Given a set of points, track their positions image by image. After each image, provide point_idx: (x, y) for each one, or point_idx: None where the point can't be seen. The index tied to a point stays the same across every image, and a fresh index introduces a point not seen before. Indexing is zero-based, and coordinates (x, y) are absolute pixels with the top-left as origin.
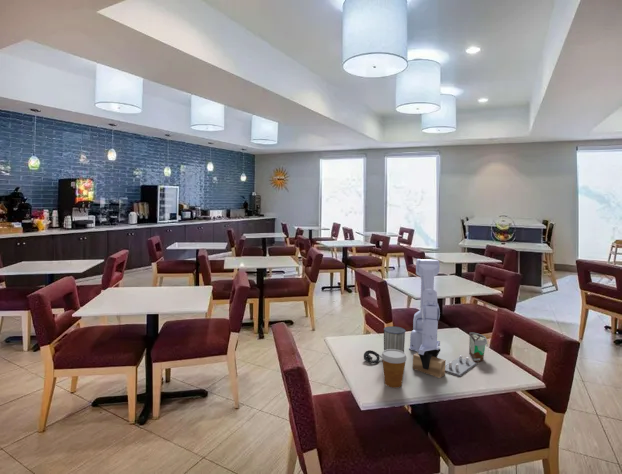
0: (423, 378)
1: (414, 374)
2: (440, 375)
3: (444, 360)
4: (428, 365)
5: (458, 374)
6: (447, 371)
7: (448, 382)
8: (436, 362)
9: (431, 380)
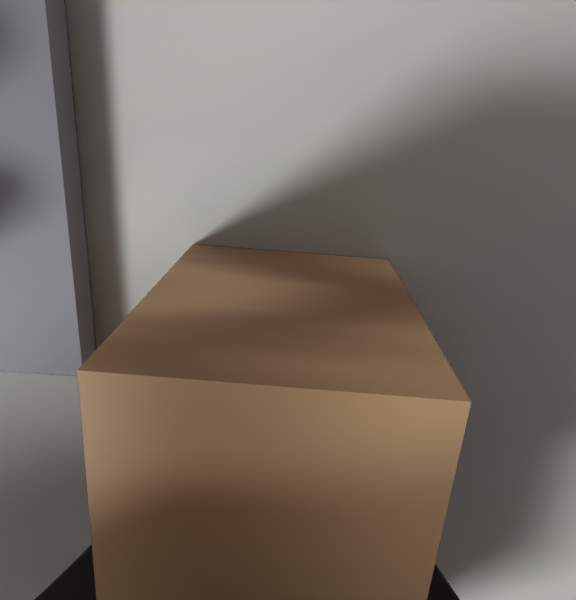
0: (563, 435)
1: (502, 563)
2: (365, 267)
3: (123, 388)
4: None
5: (47, 2)
6: (76, 247)
7: (471, 56)
8: (442, 505)
9: (566, 322)
